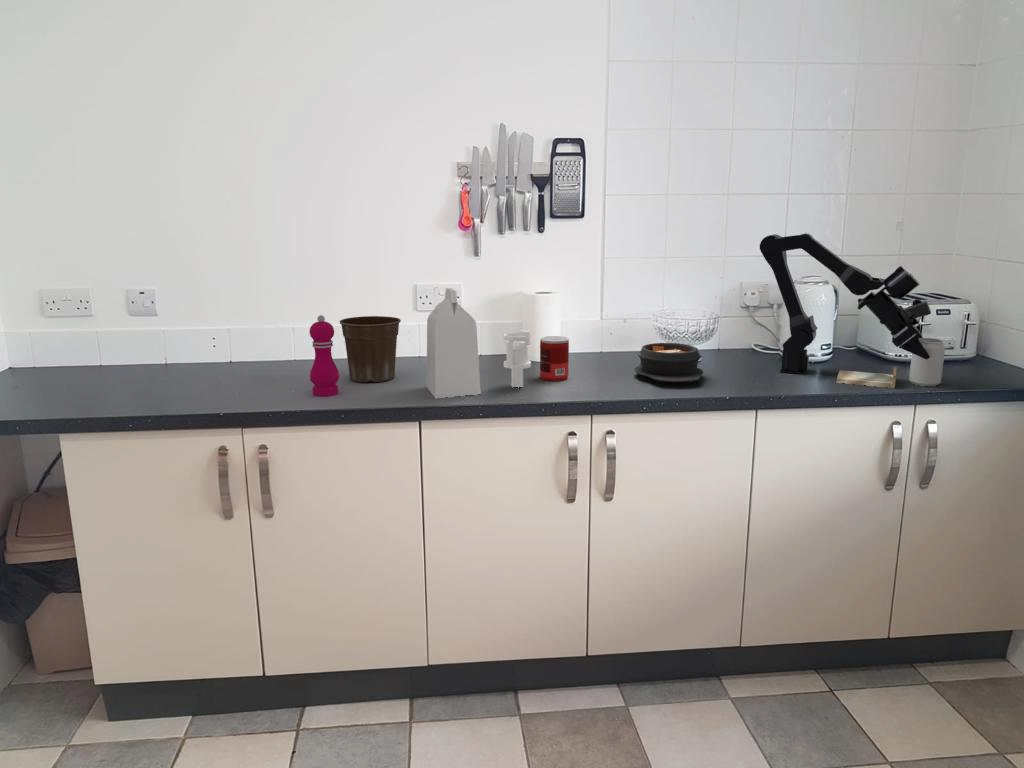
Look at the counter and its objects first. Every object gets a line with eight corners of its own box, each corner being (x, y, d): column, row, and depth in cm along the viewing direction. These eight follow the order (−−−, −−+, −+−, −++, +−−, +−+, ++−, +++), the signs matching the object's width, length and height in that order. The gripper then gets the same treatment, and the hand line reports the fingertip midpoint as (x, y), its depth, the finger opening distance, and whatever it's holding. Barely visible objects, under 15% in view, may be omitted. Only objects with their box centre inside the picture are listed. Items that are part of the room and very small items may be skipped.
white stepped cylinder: (522, 391, 203) (522, 333, 199) (498, 387, 206) (498, 331, 203) (535, 385, 209) (535, 329, 205) (512, 382, 212) (511, 326, 209)
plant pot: (369, 369, 228) (366, 313, 224) (414, 375, 220) (412, 318, 217) (330, 380, 215) (326, 321, 211) (376, 388, 207) (374, 326, 203)
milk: (480, 394, 199) (479, 291, 193) (435, 398, 196) (432, 293, 190) (469, 384, 211) (467, 286, 204) (426, 387, 207) (423, 287, 201)
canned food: (572, 376, 219) (573, 337, 216) (561, 382, 212) (562, 342, 209) (546, 373, 222) (547, 335, 219) (535, 379, 215) (535, 339, 212)
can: (944, 388, 205) (950, 342, 202) (912, 386, 206) (918, 341, 203) (935, 381, 212) (941, 337, 209) (905, 380, 213) (910, 336, 211)
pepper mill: (313, 390, 204) (308, 313, 200) (341, 389, 205) (337, 312, 200) (308, 397, 197) (303, 317, 193) (338, 396, 198) (333, 317, 193)
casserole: (626, 368, 229) (626, 339, 227) (689, 367, 230) (691, 338, 228) (644, 389, 205) (645, 357, 203) (715, 388, 206) (717, 356, 204)
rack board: (836, 382, 211) (837, 371, 210) (839, 374, 220) (840, 363, 219) (894, 388, 205) (896, 376, 204) (895, 379, 214) (896, 367, 214)
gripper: (911, 294, 198) (956, 341, 195) (913, 286, 214) (955, 329, 211) (874, 323, 203) (917, 369, 201) (879, 313, 219) (919, 356, 217)
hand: (928, 355), depth 207 cm, fingers open, 9 cm apart
